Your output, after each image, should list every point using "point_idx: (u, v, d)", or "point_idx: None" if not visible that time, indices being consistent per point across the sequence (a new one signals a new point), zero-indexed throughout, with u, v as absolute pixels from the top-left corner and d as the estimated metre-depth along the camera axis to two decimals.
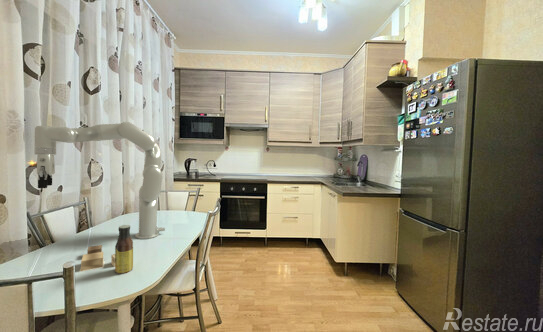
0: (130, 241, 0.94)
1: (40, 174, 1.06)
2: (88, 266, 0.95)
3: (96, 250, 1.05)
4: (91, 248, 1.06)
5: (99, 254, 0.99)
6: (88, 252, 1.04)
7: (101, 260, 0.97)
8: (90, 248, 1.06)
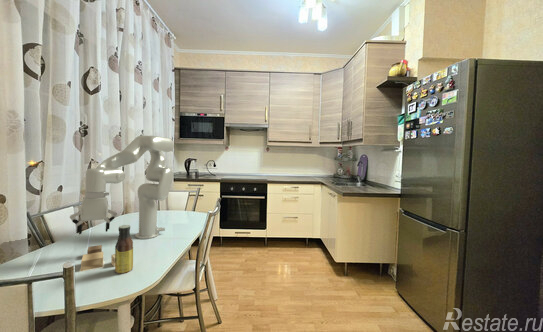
0: (130, 241, 0.94)
1: None
2: (88, 266, 0.95)
3: (96, 250, 1.05)
4: (91, 248, 1.06)
5: (99, 254, 0.99)
6: (88, 252, 1.04)
7: (101, 260, 0.97)
8: (90, 248, 1.06)
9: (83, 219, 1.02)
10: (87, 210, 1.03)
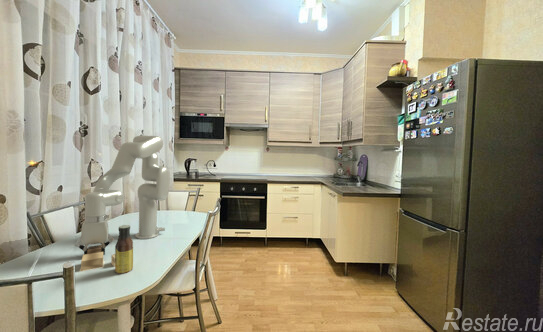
0: (130, 241, 0.94)
1: None
2: (88, 266, 0.95)
3: (96, 250, 1.05)
4: (91, 248, 1.06)
5: (99, 254, 0.99)
6: (88, 252, 1.04)
7: (101, 260, 0.97)
8: (90, 248, 1.06)
9: (84, 243, 1.03)
10: (88, 234, 1.04)
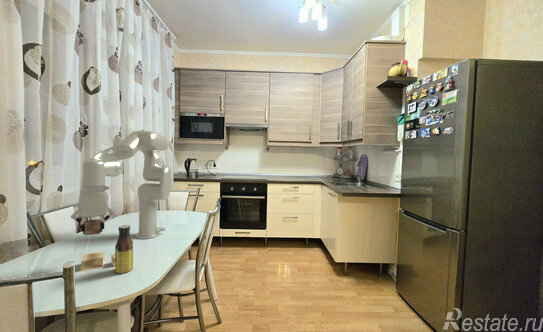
0: (130, 241, 0.94)
1: None
2: (88, 266, 0.95)
3: (94, 223, 0.96)
4: (89, 221, 0.97)
5: (99, 254, 0.99)
6: (86, 225, 0.94)
7: (101, 260, 0.97)
8: (88, 221, 0.96)
9: (81, 215, 0.94)
10: (85, 206, 0.94)
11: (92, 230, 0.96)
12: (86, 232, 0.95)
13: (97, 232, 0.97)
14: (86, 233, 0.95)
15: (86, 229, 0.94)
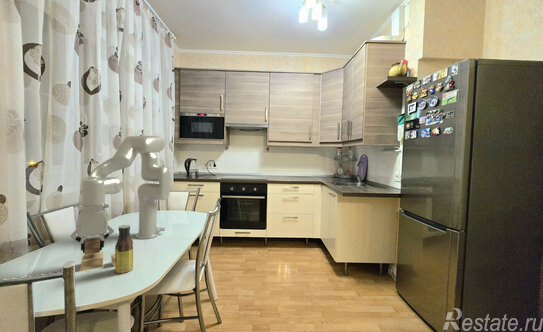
0: (130, 241, 0.94)
1: None
2: (88, 266, 0.95)
3: (94, 242, 0.96)
4: (89, 240, 0.97)
5: (99, 254, 0.99)
6: (85, 244, 0.94)
7: (101, 260, 0.97)
8: (88, 240, 0.96)
9: (81, 235, 0.94)
10: (85, 225, 0.94)
11: (92, 249, 0.96)
12: (86, 251, 0.95)
13: (97, 251, 0.97)
14: (86, 252, 0.95)
15: (86, 248, 0.94)
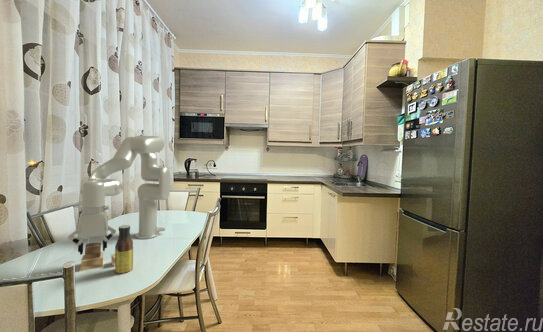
0: (130, 241, 0.94)
1: None
2: (88, 266, 0.95)
3: (94, 247, 0.96)
4: (89, 245, 0.97)
5: None
6: (86, 249, 0.95)
7: (101, 260, 0.97)
8: (88, 245, 0.97)
9: (81, 237, 0.94)
10: (85, 227, 0.94)
11: (92, 254, 0.96)
12: (86, 256, 0.95)
13: (97, 256, 0.97)
14: (86, 257, 0.95)
15: (86, 253, 0.95)
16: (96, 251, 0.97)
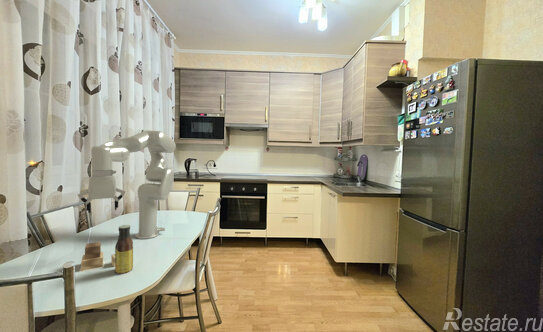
0: (130, 241, 0.94)
1: (123, 194, 1.09)
2: (88, 266, 0.95)
3: (94, 247, 0.96)
4: (89, 245, 0.97)
5: None
6: (86, 249, 0.95)
7: (101, 260, 0.97)
8: (88, 245, 0.97)
9: (92, 197, 1.01)
10: (95, 189, 1.01)
11: (92, 254, 0.96)
12: (86, 256, 0.95)
13: (97, 256, 0.97)
14: (86, 257, 0.95)
15: (86, 253, 0.95)
16: (96, 251, 0.97)
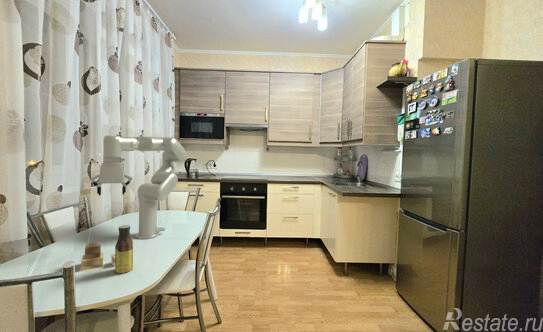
0: (130, 241, 0.94)
1: (130, 181, 1.19)
2: (88, 266, 0.95)
3: (94, 247, 0.96)
4: (89, 245, 0.97)
5: None
6: (86, 249, 0.95)
7: (101, 260, 0.97)
8: (88, 245, 0.97)
9: (102, 181, 1.11)
10: (106, 174, 1.12)
11: (92, 254, 0.96)
12: (86, 256, 0.95)
13: (97, 256, 0.97)
14: (86, 257, 0.95)
15: (86, 253, 0.95)
16: (96, 251, 0.97)
